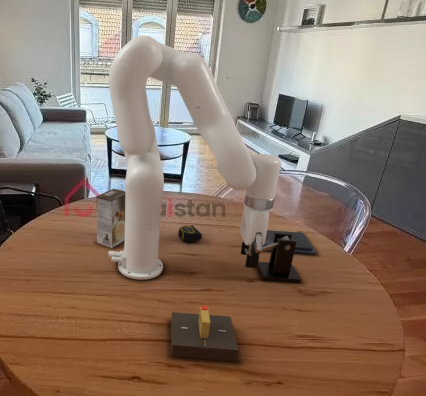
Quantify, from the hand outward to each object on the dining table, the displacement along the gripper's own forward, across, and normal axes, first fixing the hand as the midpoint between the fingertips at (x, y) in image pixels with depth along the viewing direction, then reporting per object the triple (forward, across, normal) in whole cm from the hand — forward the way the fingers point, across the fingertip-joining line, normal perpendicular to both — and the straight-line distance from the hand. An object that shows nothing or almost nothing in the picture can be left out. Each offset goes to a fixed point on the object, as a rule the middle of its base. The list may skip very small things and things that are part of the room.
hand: (248, 260), depth 103 cm
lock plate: (+4, +29, -15) cm, 33 cm away
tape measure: (+4, -18, -15) cm, 24 cm away
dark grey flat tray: (+4, -20, +15) cm, 25 cm away
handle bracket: (+4, 0, +9) cm, 10 cm away
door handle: (-3, 0, +5) cm, 6 cm away
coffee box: (+4, -13, -40) cm, 42 cm away
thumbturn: (+1, +29, -15) cm, 33 cm away
